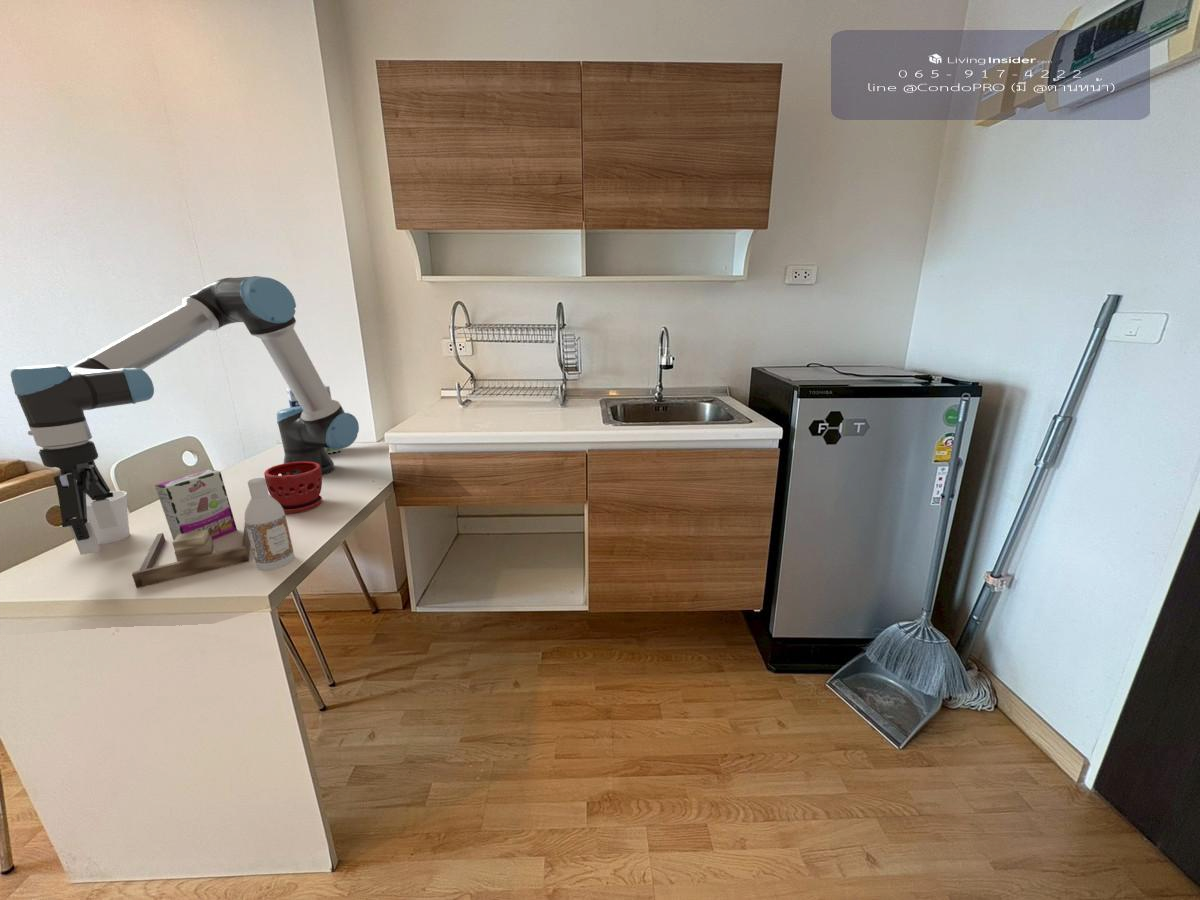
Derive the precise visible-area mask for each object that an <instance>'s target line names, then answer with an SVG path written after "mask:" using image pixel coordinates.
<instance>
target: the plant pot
mask: <svg viewBox="0 0 1200 900" xmlns="http://www.w3.org/2000/svg"><path fill="white" fill-rule="evenodd" d="M294 470H299V471H300V472H301V474H296V475H293V471H294ZM287 472H290V474H289V475H287V474H286V473H287ZM279 474H280V475H279ZM263 475H264V479H265V482H266V486H267V490H268V494H269V495H270V496H271V497H273V498H274V499H275V500H276V501H278V502H279V503H280V505H281V506H282V508H283V510H284V512H285V515H292V514H300V513H303V512H308V511H310V510H313V509H315V508H317V507H318V506H319V505H320V504H321V503H322V501H323V497H322V496H321V495H320V494H321V491H322V487H323V476H322V472H321V467H320V465H319V464H318V463H315V462H291V463H285V464H283V463H281V464H277V465H273V466H271V467H269V468H267V469H266V470H265V471H264V473H263Z"/></svg>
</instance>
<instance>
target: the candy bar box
mask: <svg viewBox="0 0 1200 900" xmlns="http://www.w3.org/2000/svg"><path fill="white" fill-rule="evenodd" d="M224 483H225V482H224V480H223V476H222V472H221V471H220V470H216V469H211V468H210V469H205V470H200V471H198V472H194V473H192V474H191V473H190V474H188V475H184V476H180V477H178V478H175V479H171V480H168V481H165V482H164V481H163V482H161V483H158V484H155V485H154V487H155V490H156V493H157V496H158V498H159V501H160V504H161V507H162V510H163V511H162V512H163V513H164V517H165V519H166V522H167V525H168V528H169V531H170V533H171V538H172V540H173V541H174V540H175V538H176V537H177V536H178V534H184V533H190V532H196V531H201V530H207V529H208V532H209V536H211V538H212V541H214V540H217V539H218V538H221V537H223V536H227V535H228V534H231V533H233V532H235V531H238V529H237V524H236V521H235V518H234V515H233V512H232V511H233V510H232V508H231V504H230V501H229V497H228V494H227V490H226V487H225V484H224Z"/></svg>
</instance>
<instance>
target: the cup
mask: <svg viewBox="0 0 1200 900" xmlns="http://www.w3.org/2000/svg"><path fill="white" fill-rule="evenodd" d="M110 492H112V493H113V497H109V498H106V499H109V501H110V503H111V506H112V509H113V512H114V515H115V518H116V521H117V523H118V526H115V527H110V528H105V529H100V527H99V524H98V521H97V519H96V516H95V513H94V510H93V508H92V505H91V502H92V501H96V500H92V499H91V498H90V497H89V496H88V495H86V507H87V520H88V521H90V522H91V524H92V527H93V530H94V532H95V535H96V538H97V541H98V543H99V545H106V544H111V543H115V542H118V541H121V540H124V539H126V538H128V537H129V536H130V535H131V533H130V526H129V515H128V514H129V513H128V500H127V495H128V492H127V491H125V490H124V491H123V490H112V491H111V490H110ZM110 492H109V493H110Z"/></svg>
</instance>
